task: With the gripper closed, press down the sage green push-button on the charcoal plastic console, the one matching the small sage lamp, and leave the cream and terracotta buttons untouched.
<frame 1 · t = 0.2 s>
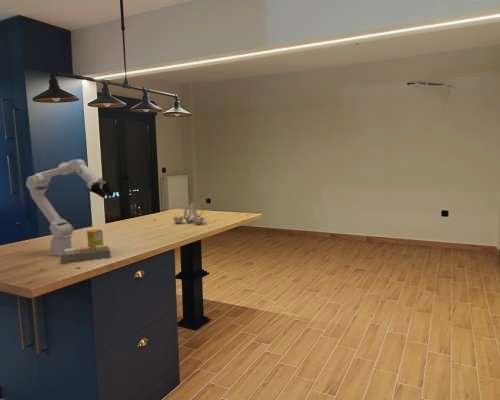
hand: (108, 195, 191), 30 cm above the table, tool tilted 45°, fingers open, 7 cm apart
console: (86, 258, 189), on the table
chinaware: (191, 224, 287), on the table
cream button: (69, 252, 186), point 4 cm above the table, slide at 0.0 cm
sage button: (100, 248, 191), point 4 cm above the table, slide at 0.0 cm
terracotta button: (85, 250, 189), point 4 cm above the table, slide at 0.0 cm
supplement box: (96, 250, 208), on the table
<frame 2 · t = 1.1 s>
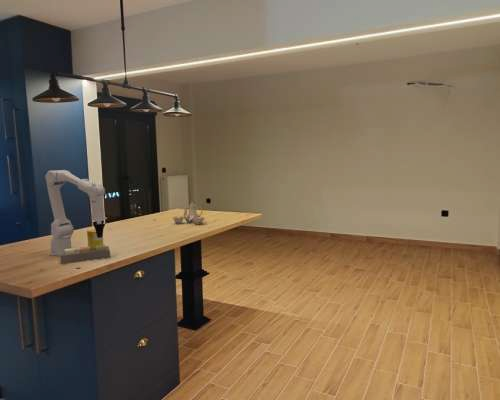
hand: (99, 236, 191), 10 cm above the table, tool pointing down, fingers open, 7 cm apart
nothing on the table moved.
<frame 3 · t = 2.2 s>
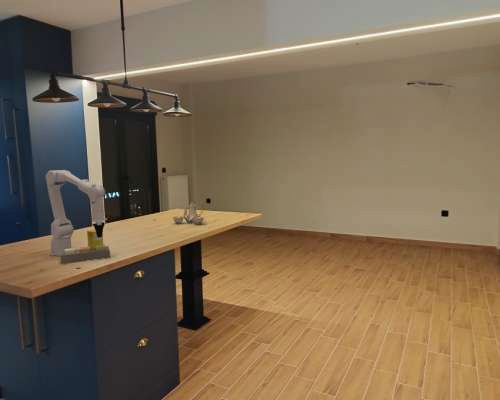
hand: (99, 237, 191), 10 cm above the table, tool pointing down, fingers closed
nothing on the table moved.
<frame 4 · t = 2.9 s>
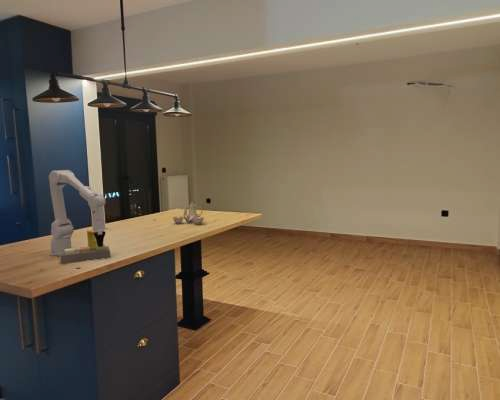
hand: (100, 246, 191), 5 cm above the table, tool pointing down, fingers closed, pressing on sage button
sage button: (100, 249, 191), point 4 cm above the table, slide at 0.2 cm, touching gripper
everything else where it was.
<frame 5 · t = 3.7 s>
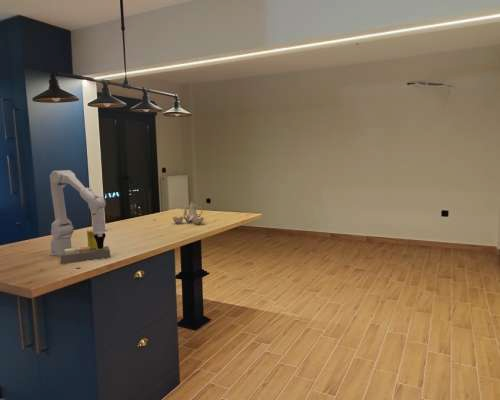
hand: (100, 248, 191), 4 cm above the table, tool pointing down, fingers closed, pressing on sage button
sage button: (100, 251, 192), point 3 cm above the table, slide at 1.2 cm, touching gripper
everything else where it was.
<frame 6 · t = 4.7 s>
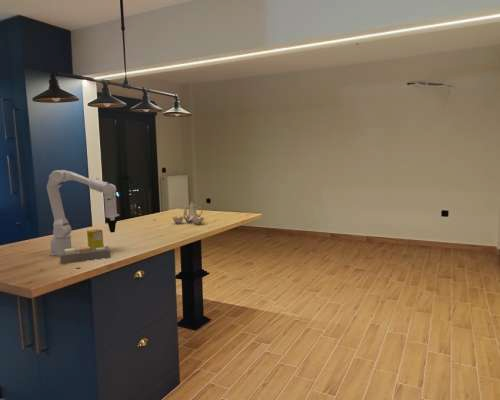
hand: (112, 232, 202), 10 cm above the table, tool pointing down, fingers closed
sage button: (100, 251, 192), point 3 cm above the table, slide at 1.2 cm
everything else where it was.
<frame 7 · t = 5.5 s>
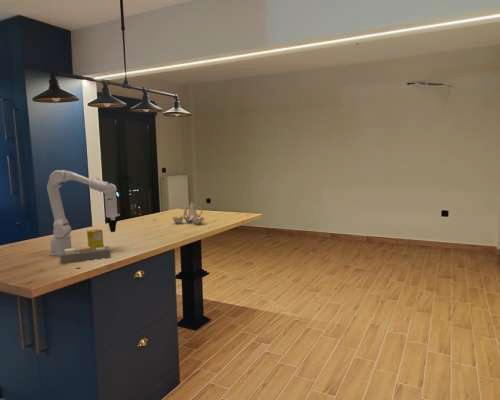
hand: (112, 231, 202), 10 cm above the table, tool pointing down, fingers closed
nothing on the table moved.
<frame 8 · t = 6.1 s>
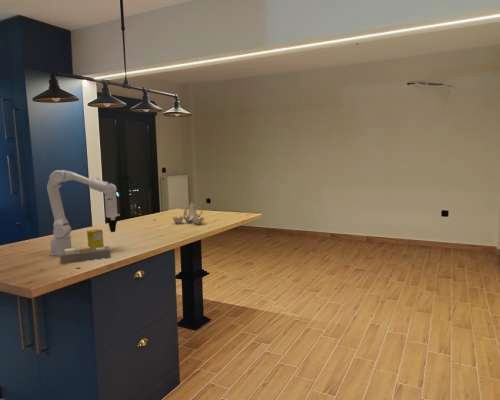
hand: (112, 231, 202), 10 cm above the table, tool pointing down, fingers closed
nothing on the table moved.
at the end: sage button slide at 1.2 cm; cream button slide at 0.0 cm; terracotta button slide at 0.0 cm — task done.
